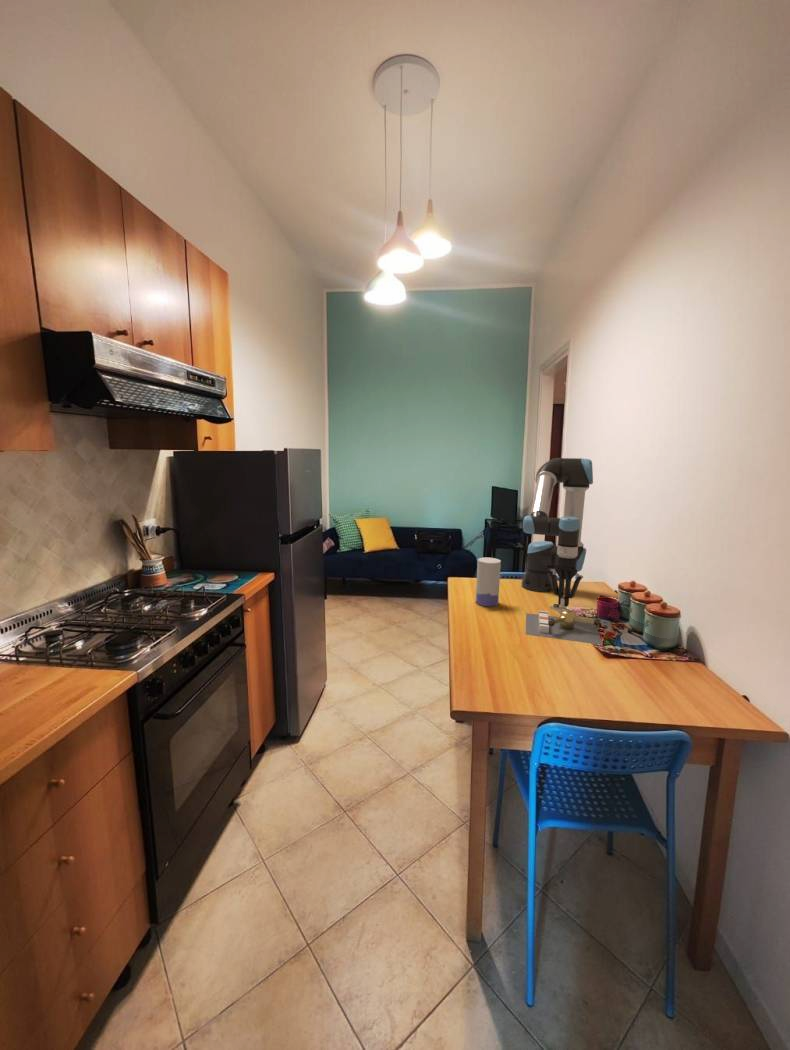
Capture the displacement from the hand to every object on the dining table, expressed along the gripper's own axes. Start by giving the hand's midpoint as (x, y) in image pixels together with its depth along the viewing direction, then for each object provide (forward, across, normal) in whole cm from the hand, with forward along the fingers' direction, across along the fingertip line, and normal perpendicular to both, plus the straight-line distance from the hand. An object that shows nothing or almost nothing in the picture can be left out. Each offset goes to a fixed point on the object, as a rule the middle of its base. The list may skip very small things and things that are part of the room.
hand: (562, 613), depth 172 cm
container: (+3, -33, -3) cm, 33 cm away
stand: (+4, +3, -9) cm, 10 cm away
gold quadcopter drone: (+2, +7, -7) cm, 10 cm away
